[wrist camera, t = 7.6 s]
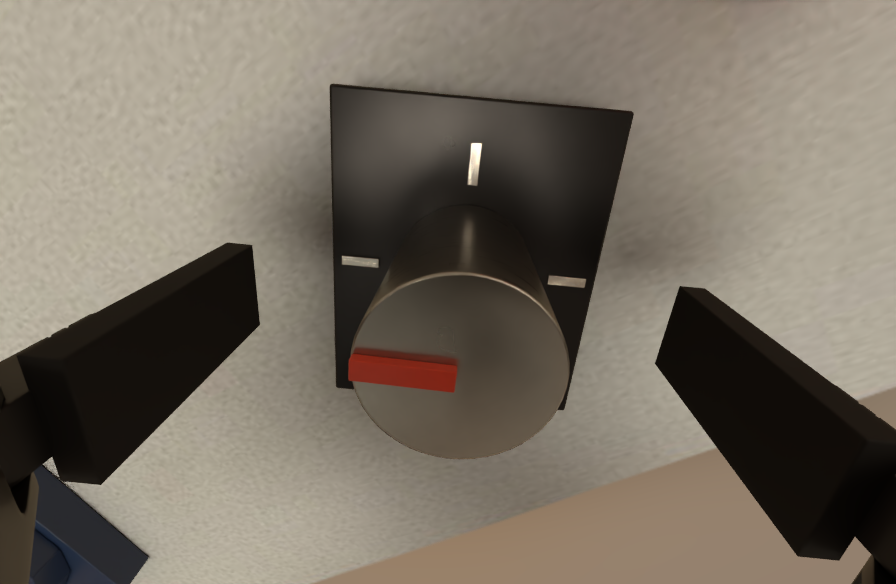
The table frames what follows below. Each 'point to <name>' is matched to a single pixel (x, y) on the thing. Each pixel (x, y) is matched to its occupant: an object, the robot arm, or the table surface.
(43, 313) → the table surface
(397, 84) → the table surface
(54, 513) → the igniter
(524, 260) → the hob knob
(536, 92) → the table surface
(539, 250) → the hob panel
